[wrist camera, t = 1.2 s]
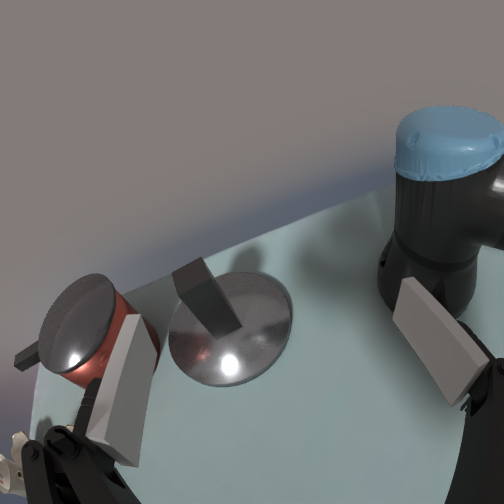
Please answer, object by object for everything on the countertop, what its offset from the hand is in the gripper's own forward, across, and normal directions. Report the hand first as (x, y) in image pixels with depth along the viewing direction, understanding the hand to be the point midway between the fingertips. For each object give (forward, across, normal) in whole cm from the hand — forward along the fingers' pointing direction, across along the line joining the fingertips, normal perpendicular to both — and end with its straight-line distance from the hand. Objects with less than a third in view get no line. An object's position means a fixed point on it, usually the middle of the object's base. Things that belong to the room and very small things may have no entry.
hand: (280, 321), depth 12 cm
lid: (+20, -4, -17) cm, 26 cm away
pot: (+18, -28, -24) cm, 41 cm away
